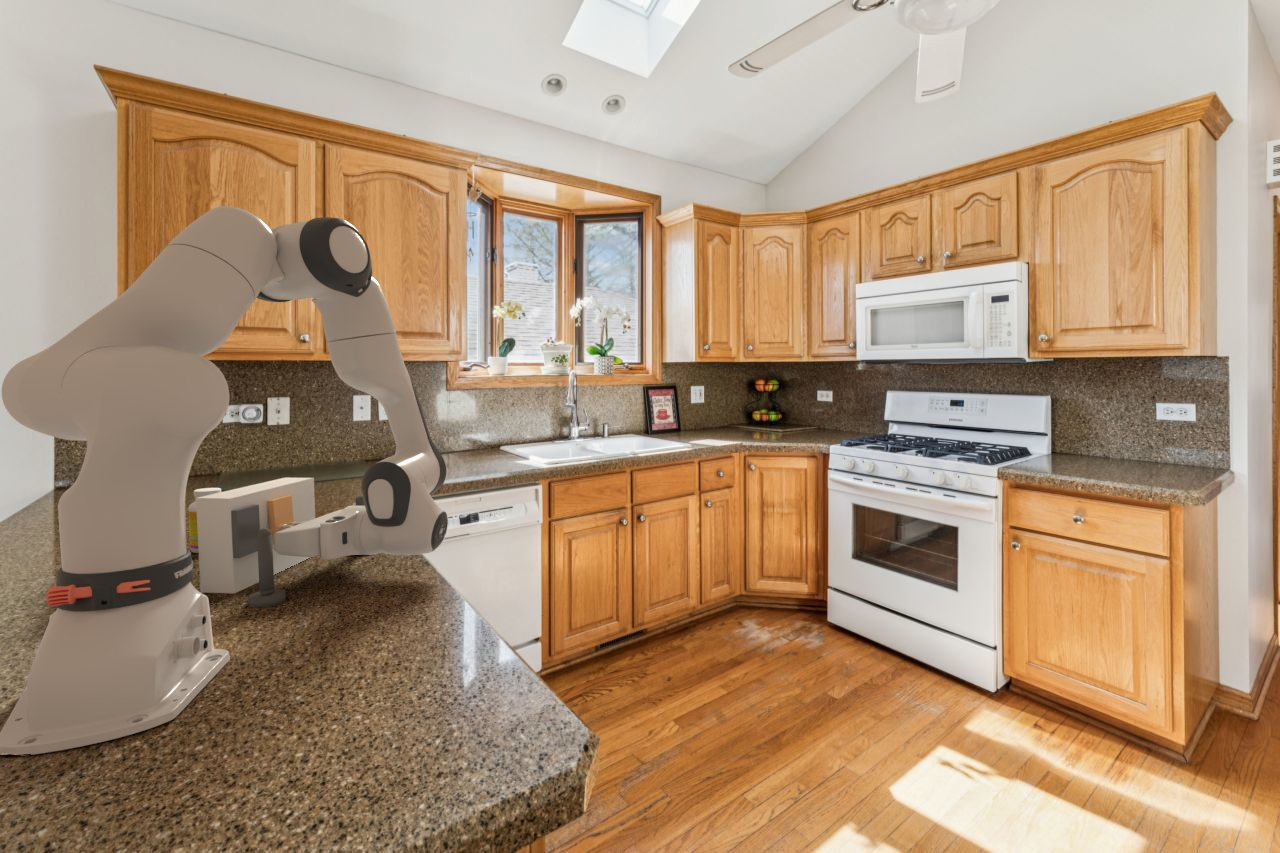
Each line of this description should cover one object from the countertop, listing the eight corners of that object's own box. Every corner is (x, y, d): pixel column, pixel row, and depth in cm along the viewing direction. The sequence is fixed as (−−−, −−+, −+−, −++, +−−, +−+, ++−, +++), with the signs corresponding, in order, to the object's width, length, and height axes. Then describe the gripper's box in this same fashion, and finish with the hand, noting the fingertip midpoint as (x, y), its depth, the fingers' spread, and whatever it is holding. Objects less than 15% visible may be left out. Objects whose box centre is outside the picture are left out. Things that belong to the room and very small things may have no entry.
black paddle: (260, 549, 102) (258, 504, 102) (239, 558, 97) (236, 510, 97) (255, 549, 102) (253, 504, 102) (233, 558, 97) (231, 510, 97)
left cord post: (283, 604, 93) (280, 529, 92) (246, 609, 91) (242, 533, 90) (287, 594, 98) (284, 523, 97) (251, 599, 95) (248, 526, 95)
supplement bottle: (214, 554, 120) (211, 492, 120) (182, 554, 121) (178, 492, 120) (236, 545, 127) (234, 486, 126) (206, 545, 127) (203, 486, 126)
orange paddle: (295, 537, 111) (291, 495, 110) (276, 544, 106) (272, 500, 105) (290, 537, 111) (286, 495, 110) (271, 544, 106) (267, 500, 105)
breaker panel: (316, 555, 120) (313, 477, 119) (234, 593, 98) (230, 498, 97) (288, 554, 120) (285, 477, 119) (200, 592, 98) (195, 497, 97)
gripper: (385, 501, 117) (319, 501, 118) (322, 525, 97) (243, 524, 98) (386, 532, 118) (320, 532, 119) (324, 563, 97) (245, 562, 98)
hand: (285, 529), depth 108 cm, fingers closed, pressing on orange paddle
